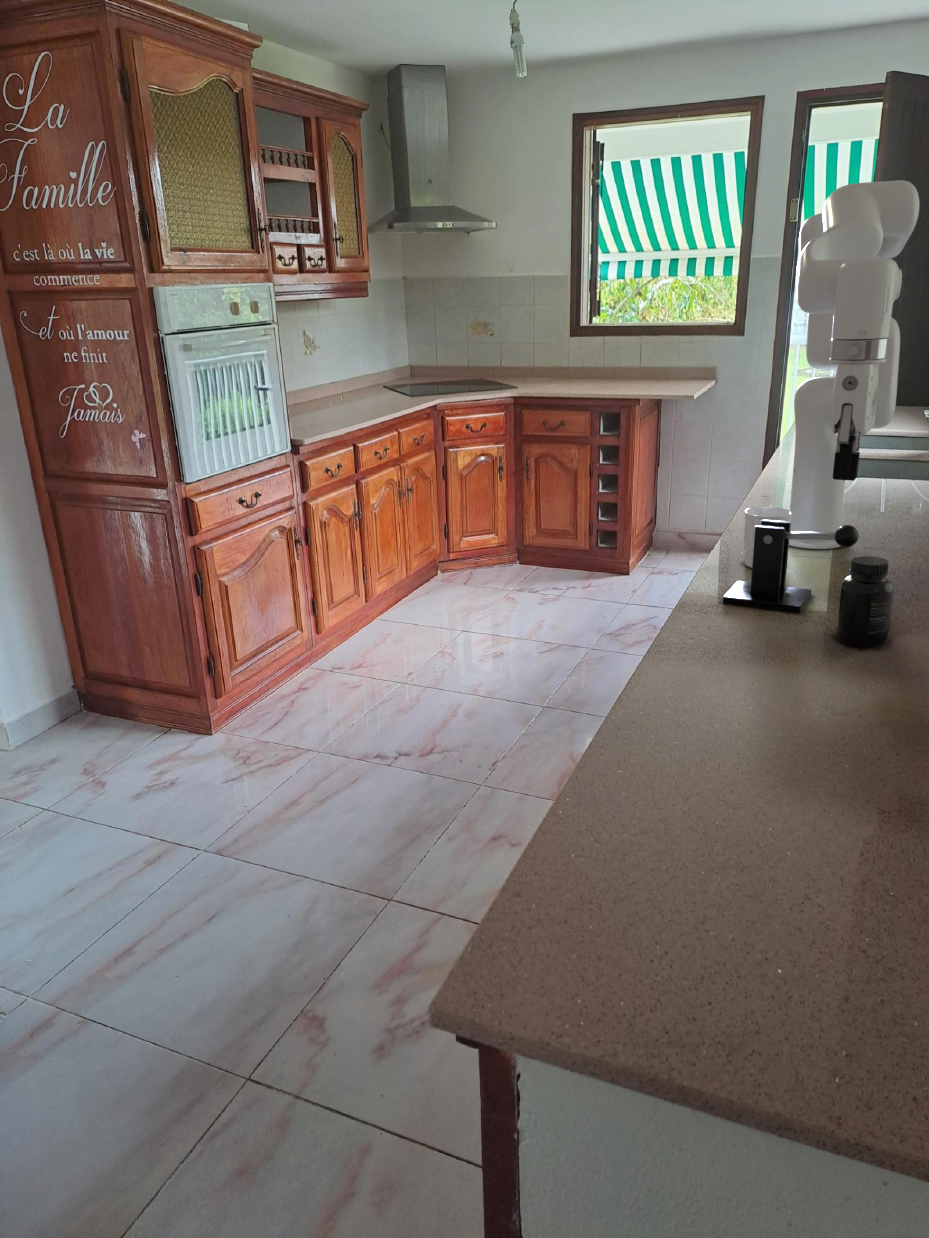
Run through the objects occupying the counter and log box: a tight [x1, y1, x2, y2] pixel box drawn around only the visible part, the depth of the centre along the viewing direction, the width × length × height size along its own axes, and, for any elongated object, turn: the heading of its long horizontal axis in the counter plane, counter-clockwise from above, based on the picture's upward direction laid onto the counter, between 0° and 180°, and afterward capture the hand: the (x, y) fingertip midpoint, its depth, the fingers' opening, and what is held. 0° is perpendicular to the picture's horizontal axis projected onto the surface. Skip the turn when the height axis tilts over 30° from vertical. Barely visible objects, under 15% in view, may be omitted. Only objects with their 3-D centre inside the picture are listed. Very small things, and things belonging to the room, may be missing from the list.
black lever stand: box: [722, 519, 812, 615], centre depth 142 cm, size 12×9×13 cm
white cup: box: [743, 506, 791, 569], centre depth 160 cm, size 8×8×10 cm
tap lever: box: [771, 524, 860, 548], centre depth 137 cm, size 14×3×3 cm, turn 59°
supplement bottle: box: [836, 555, 895, 649], centre depth 125 cm, size 7×7×12 cm
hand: (844, 478), depth 132 cm, fingers closed
